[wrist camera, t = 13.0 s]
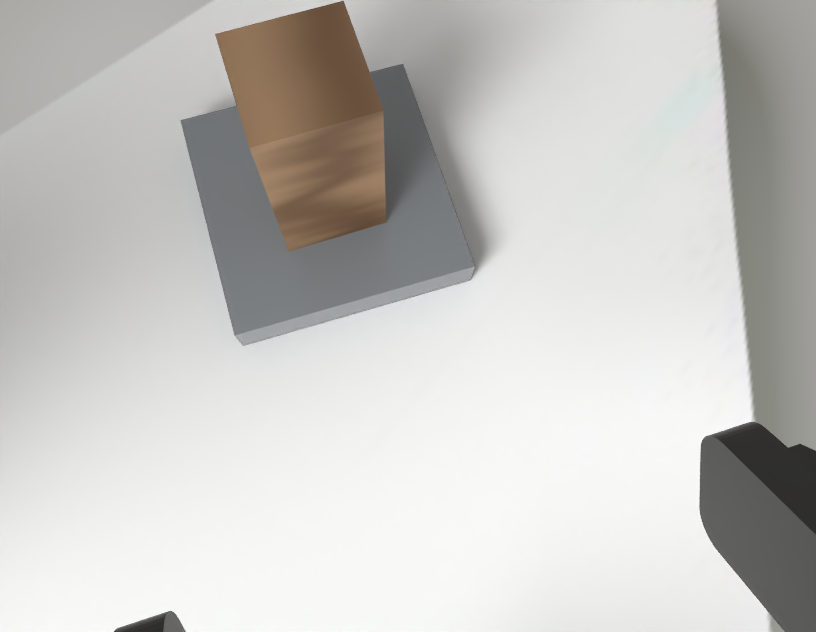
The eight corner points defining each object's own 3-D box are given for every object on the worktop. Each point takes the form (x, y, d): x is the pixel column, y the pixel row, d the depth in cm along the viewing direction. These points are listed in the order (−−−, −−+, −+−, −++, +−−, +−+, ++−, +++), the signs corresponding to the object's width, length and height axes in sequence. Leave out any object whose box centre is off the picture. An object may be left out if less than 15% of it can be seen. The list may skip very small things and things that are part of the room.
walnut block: (288, 251, 35) (249, 147, 26) (262, 163, 36) (215, 34, 27) (386, 222, 36) (383, 110, 26) (356, 137, 37) (343, 0, 27)
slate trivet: (243, 345, 36) (234, 335, 34) (190, 140, 39) (180, 120, 37) (470, 279, 37) (475, 266, 35) (402, 86, 40) (402, 63, 38)
